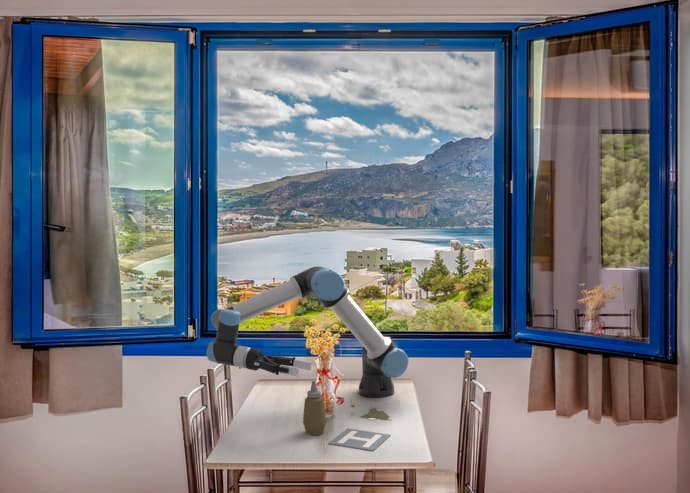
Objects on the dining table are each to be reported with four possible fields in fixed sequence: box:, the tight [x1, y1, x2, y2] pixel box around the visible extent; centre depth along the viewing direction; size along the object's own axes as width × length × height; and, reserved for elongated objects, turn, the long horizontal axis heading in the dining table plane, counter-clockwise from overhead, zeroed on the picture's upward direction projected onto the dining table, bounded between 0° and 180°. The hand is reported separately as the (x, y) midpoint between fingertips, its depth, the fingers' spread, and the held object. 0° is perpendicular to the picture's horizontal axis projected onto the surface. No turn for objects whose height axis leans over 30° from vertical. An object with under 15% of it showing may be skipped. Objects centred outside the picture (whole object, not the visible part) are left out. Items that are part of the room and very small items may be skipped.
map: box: [360, 407, 392, 422], centre depth 222 cm, size 11×18×1 cm, turn 15°
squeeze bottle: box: [302, 380, 327, 436], centre depth 207 cm, size 8×8×18 cm
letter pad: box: [328, 427, 391, 452], centre depth 200 cm, size 15×16×1 cm
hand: (305, 369), depth 209 cm, fingers open, 13 cm apart
